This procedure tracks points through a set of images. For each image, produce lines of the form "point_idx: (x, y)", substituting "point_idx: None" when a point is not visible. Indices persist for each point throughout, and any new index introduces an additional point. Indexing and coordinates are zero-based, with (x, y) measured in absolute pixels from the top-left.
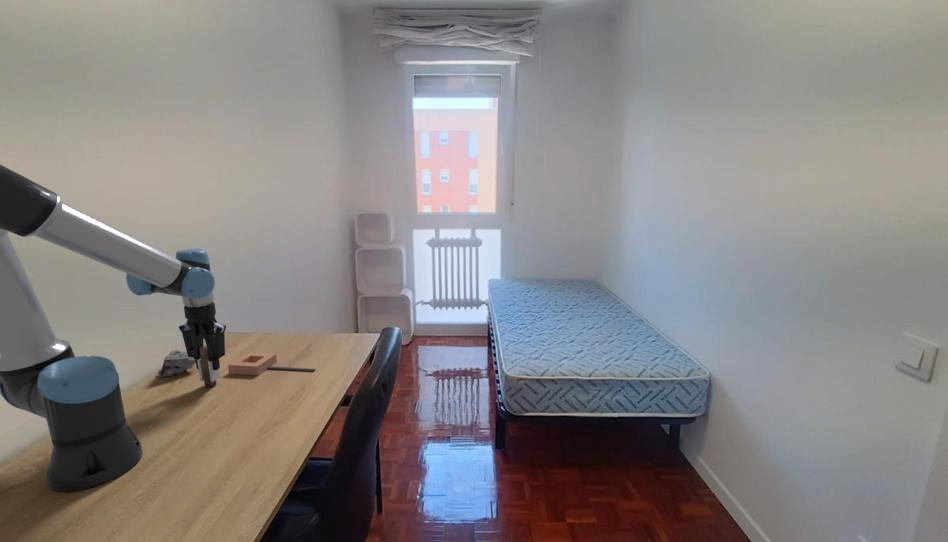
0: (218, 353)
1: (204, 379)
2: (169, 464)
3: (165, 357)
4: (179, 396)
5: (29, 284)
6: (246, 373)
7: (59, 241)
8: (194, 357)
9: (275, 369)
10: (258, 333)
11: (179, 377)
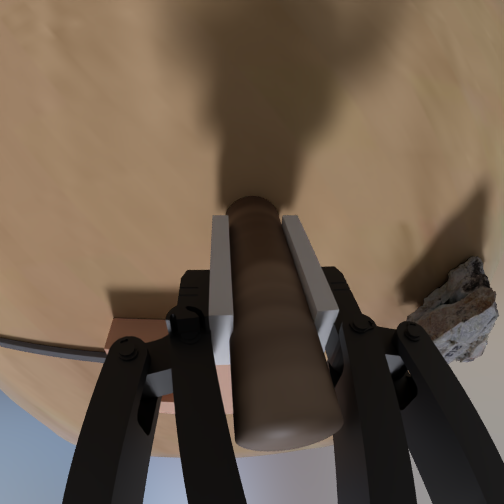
0: (103, 382)
1: (268, 219)
2: None
3: (497, 315)
4: (337, 100)
5: None
6: (163, 323)
7: None
8: (368, 327)
9: (99, 352)
10: (316, 446)
11: (423, 266)
